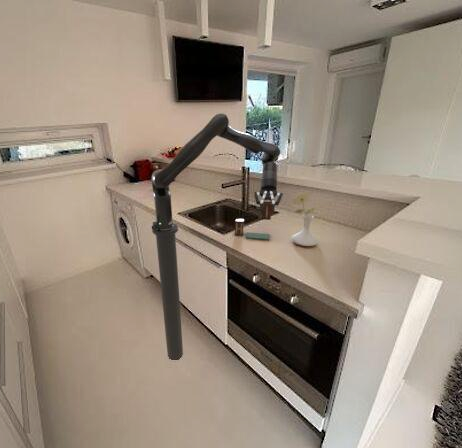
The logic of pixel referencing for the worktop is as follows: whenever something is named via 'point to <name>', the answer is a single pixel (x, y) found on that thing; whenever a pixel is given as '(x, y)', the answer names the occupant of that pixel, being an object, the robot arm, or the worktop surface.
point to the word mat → (257, 236)
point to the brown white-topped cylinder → (267, 210)
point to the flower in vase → (304, 236)
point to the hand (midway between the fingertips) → (266, 211)
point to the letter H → (239, 227)
